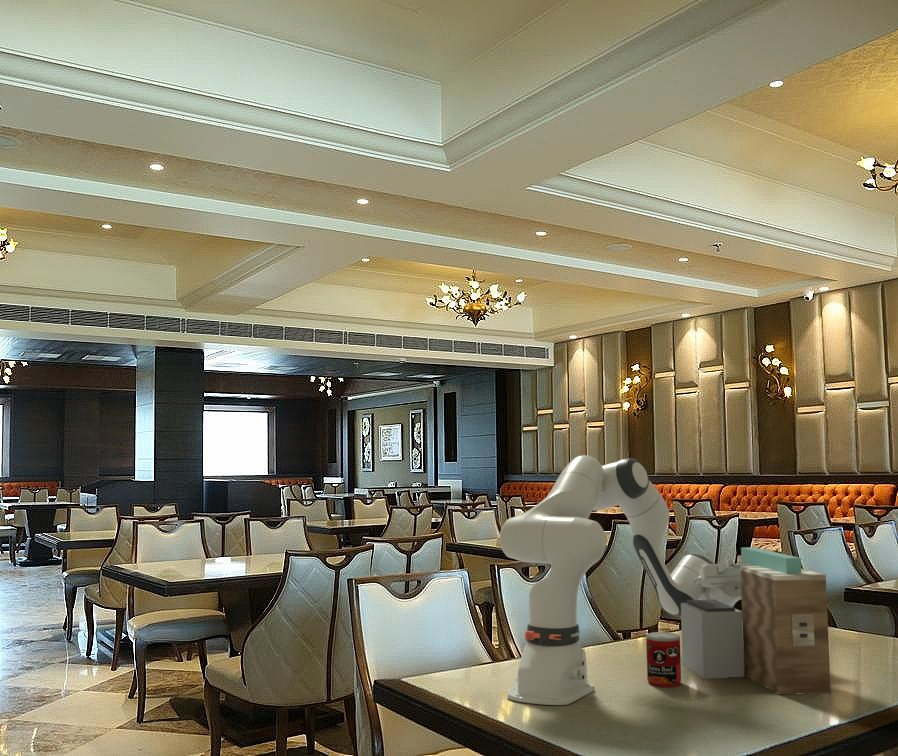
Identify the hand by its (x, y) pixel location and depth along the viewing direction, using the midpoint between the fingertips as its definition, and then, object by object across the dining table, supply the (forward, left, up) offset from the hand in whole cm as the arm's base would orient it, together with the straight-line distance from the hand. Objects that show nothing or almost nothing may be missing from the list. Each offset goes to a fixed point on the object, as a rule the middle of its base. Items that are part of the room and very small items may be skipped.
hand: (748, 562), depth 226 cm
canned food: (-25, +18, -26) cm, 40 cm away
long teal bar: (-10, -6, 0) cm, 12 cm away
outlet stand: (-16, -8, -26) cm, 31 cm away
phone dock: (-9, +9, -26) cm, 29 cm away
